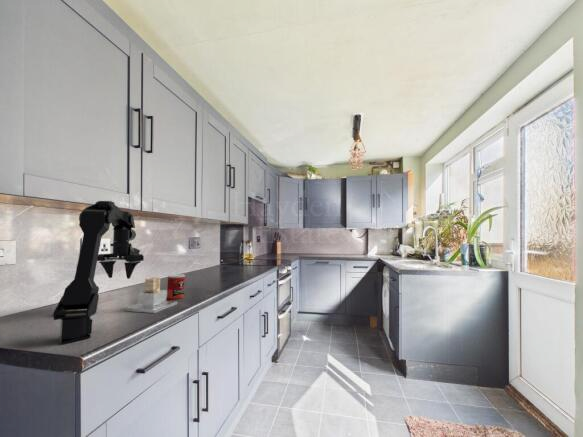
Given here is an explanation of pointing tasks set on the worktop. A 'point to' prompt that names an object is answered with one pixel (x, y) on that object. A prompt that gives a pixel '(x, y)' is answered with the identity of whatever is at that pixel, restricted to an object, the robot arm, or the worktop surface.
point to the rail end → (152, 285)
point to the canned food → (176, 286)
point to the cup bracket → (151, 302)
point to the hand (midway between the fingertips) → (119, 278)
